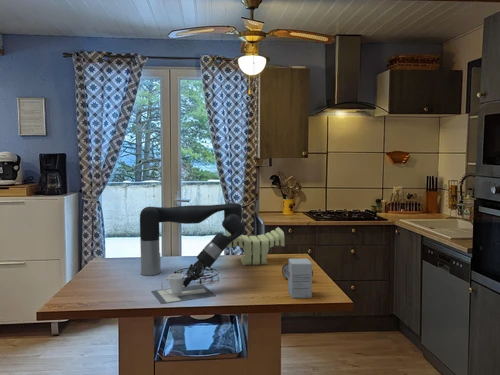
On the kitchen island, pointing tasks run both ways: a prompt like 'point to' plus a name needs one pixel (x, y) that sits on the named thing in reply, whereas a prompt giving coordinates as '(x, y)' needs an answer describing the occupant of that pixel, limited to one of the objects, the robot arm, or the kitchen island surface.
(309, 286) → the supplement box
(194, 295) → the t mat
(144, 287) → the kitchen island surface
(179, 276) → the cup
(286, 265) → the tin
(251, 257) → the slatted curved stool
